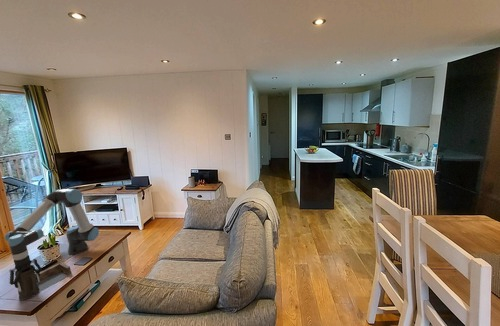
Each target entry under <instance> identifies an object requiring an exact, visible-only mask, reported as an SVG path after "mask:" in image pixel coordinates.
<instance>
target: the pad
mask: <svg viewBox="0 0 500 326" xmlns="http://www.w3.org/2000/svg"><path fill="white" fill-rule="evenodd" d="M68 276H69V275H68V274H66V273H64V272H62V271H60V272H58V273H56V274H54V275H52V276H50V277H48V278H46V279H44V280H42V281H40V282H38V283H37V284H38V286H39V289H40V291H39V292H42V291H44V290H45V289H48V288H50V287H51V286H53V285H55V284H57V283H58V281H59V282H60V281H62V280H64V279H66V278H67V277H68ZM56 282H57V283H56Z"/></svg>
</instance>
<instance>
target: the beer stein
mask: <svg viewBox="0 0 500 326" xmlns="http://www.w3.org/2000/svg"><path fill="white" fill-rule="evenodd" d="M34 265H35V264H31V265H30V266H31V267H33V268H35V269H36V267H35V266H34ZM35 273H36V272H35V271H34V270H33V269H30V268H28V269H25V270H24V271H22V273H21V274H20V277H19V280H18V282H19V284H20V287H21V292H20V291H18V290H17V292H18V299H19V300H27V299H30V298H33V297H35V296H37V294H39V292H41V291H40V289H39V286H38V283H37V280H36V277H35ZM16 274H17V270H15V272H14V277H16Z"/></svg>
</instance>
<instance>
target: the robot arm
mask: <svg viewBox="0 0 500 326" xmlns="http://www.w3.org/2000/svg"><path fill="white" fill-rule="evenodd" d="M82 200H83V193H82V192H81V190H80V189H76V188H69V189H68V188H64V189H63V188H62V189H60V188H59V189H56V190H54V191H52V192H50V193H48V194H47V195H45V197H44V198H43V199H42V200H41V201H42V202H41V203H40V204H39V205H38V206H37V207H36V208H35V209H34V210H33V211H32V212H31V213H30V214H29V215H28V216H27V217H26V218H25V219H24V220H23V221H22V222H21V223H20V224H19V225H17V227H16V228H15V229H14V230H10V231H8V232H7V233H5V235H4V240H5V241H6V242H8V246H9V250H10V253H11V256H12V259H13V263H14V268H12V269H11V268H10V269H9V270H8V272H9V273H10V274H9V284H10V286H12V285H14V287H15V288H16V289H17V292H18V291H20V292H21V287H20V284H19V282H18V280H19V277H20V274H21V273H22V271H24V270H25V269H28V268H30V269H33V270H34V272H35V276H36V280H37V282H38V283H40V282H41V281H40V280H39V277H40V272H42V271H43V268H42V267H41V266H40V264H39V263H38V260H37V259H36V258H34V259H31V257H30V255H29V251H28V247H27V246H29V245H31V244H33V243H34V242H36V241H38V240H40V239H41V238H43V237H44V233H45V232H44V230H42V229H41V228H35V229H33V228H34V227H35V226H36V225H37V224H38V223H39V222H40V221H41V220H42V218H43V217H45V215H46V214H47V213H48V212H49V211H50V210H51V209H52V208H54V207H56V206H57V205H58V204H63V205H64V206H65V208H68V209H69V211H70V214H71V215H72V217H73V220H74V221H75V223H76V225H74V226H71V227H69V228H68V229H66V231H65V232H66V233H65V235H66V238H67V242H68V243H67V244H68V248H67V253H68V255H70V256H72V255H77V254H81V253H82V252H85V251H87V249H89V245H88V244H87V242H91V241H95V240H96V239H97V238H98V236H99V233H100V230H99V228H98V227H95V226H94V225H93V223H91V222H90V220H89V219H88V217H87V215H86V212H85V210H84V208H83V206H82ZM32 263H33V265H35V266H36V267H35V268H33V267H31V266H30V265H32ZM36 268H37V269H36ZM16 270H17V274H16V276H15V271H16Z"/></svg>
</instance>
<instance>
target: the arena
mask: <svg viewBox="0 0 500 326" xmlns="http://www.w3.org/2000/svg"><path fill="white" fill-rule="evenodd" d="M59 272H62V273H63V274H65V275H67V276H69V275H71V274H72V270H71V266H69V265H67V264H65V263H64V262H62V261H61V262H58V263H56V264H55V265H52V266H51V267H48V268H46V269H44V270H42V271H40V277H39V280H40V282H42V281H44V280H46V279H48V278H49V277H51V276H53V275H55V274H57V273H59ZM35 277H36V276H35ZM38 283H39V282H37V284H38Z"/></svg>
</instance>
